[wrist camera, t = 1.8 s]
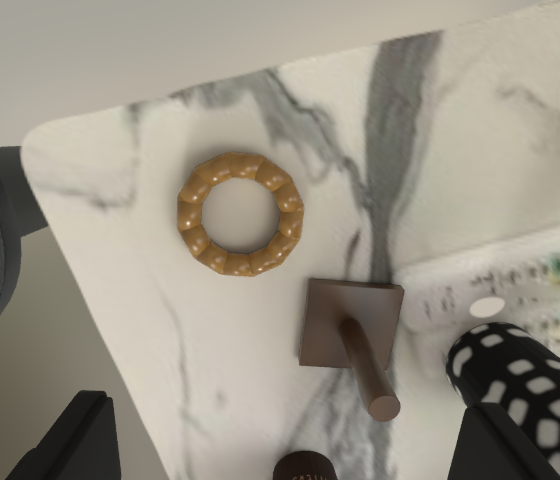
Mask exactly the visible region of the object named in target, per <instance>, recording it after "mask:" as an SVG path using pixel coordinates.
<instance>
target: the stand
mask: <svg viewBox="0 0 560 480" xmlns="http://www.w3.org/2000/svg"><path fill="white" fill-rule="evenodd" d="M404 291H405V290H404V289H403V288H402V287H401V286H400V285H388V284H375V283H361V282H348V281H335V280H322V279H309V281H308V288H307V296H306V304H305V311H304V319H303V327H302V334H301V342H300V350H299V357H298V360H299V365H300V366H317V367H334V368H351V369H353V372H354V375H355V377H356V380H357V383H358V386H359V388H360V391H361V394H362V397H363V399H364V402H365V405H366V408H367V410H368V413H369V415H370V417H371V418H372V419H374V420H376V421H379V422H386V421H390V420H392V419H394V418H395V417H396V416H397V415H398V414H399V412H400V402H399V400H398V398H397V396H396V394H395V392H394V390H393V388H392V386H391V384H390V382H389V380H388V378H387V376H386V374H385V372H384V371H387V368H388V363H389V359H390V354H391V350H392V345H393V341H394V336H395V332H396V327H397V323H398V318H399V314H400V309H401V305H402V300H403V296H404Z"/></svg>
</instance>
